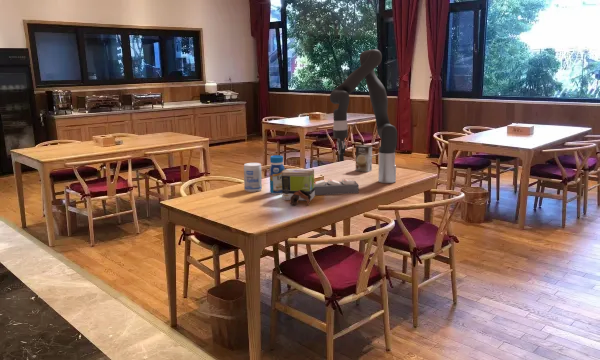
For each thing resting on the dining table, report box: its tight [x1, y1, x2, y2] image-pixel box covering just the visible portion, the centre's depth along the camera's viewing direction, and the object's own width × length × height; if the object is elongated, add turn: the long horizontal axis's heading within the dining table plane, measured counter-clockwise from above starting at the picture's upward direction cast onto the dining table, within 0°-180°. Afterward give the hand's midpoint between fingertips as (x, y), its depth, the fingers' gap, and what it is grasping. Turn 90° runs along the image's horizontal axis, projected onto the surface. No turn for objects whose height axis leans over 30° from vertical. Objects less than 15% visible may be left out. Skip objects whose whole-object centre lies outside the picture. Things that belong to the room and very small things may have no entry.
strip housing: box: [315, 180, 360, 196], centre depth 269 cm, size 25×9×4 cm, turn 96°
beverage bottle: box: [268, 154, 286, 195], centre depth 268 cm, size 8×8×20 cm
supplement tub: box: [243, 162, 263, 193], centre depth 275 cm, size 10×10×15 cm
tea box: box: [281, 168, 316, 202], centre depth 257 cm, size 15×10×15 cm, turn 74°
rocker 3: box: [341, 178, 355, 185], centre depth 269 cm, size 6×4×2 cm
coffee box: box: [355, 144, 373, 173], centre depth 319 cm, size 9×6×16 cm
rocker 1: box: [314, 179, 326, 186], centre depth 268 cm, size 6×4×2 cm
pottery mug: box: [289, 190, 311, 206], centre depth 246 cm, size 12×10×8 cm
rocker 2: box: [327, 178, 341, 185], centre depth 268 cm, size 6×4×2 cm
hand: (341, 160), depth 269 cm, fingers closed
